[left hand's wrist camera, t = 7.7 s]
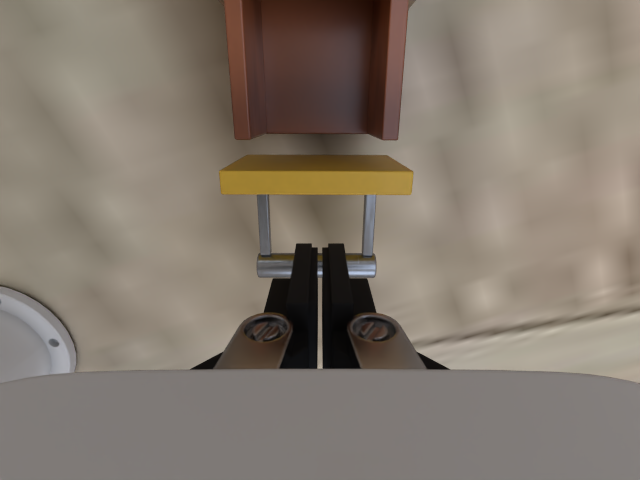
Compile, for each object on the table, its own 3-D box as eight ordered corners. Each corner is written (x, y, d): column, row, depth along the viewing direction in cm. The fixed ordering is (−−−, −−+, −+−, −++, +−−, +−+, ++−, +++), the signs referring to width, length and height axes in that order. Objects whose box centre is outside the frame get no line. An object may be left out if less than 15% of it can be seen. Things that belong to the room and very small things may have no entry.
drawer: (381, 249, 26) (402, 294, 19) (252, 248, 26) (230, 294, 19) (412, -202, 17) (467, -390, 11) (222, -203, 17) (163, -392, 11)
